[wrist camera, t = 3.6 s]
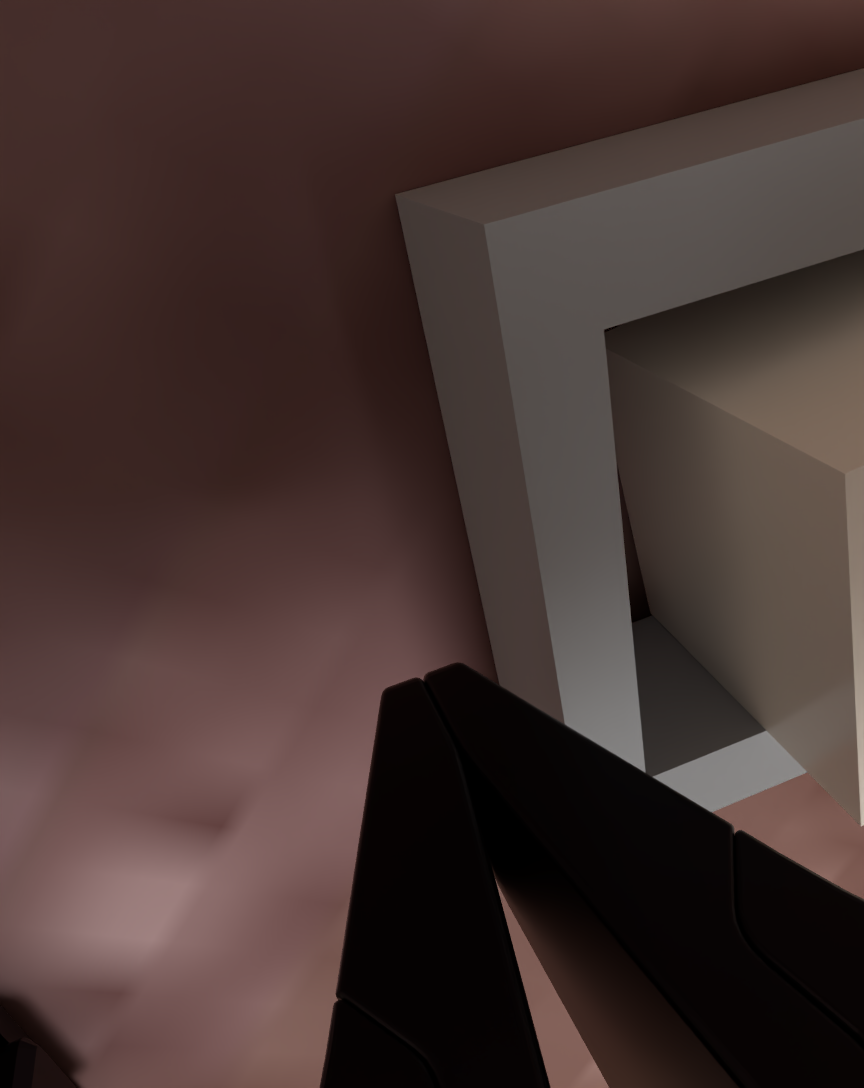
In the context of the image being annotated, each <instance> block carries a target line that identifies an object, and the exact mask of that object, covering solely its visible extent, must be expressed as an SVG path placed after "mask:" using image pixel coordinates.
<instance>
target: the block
mask: <svg viewBox="0 0 864 1088" xmlns="http://www.w3.org/2000/svg"><path fill="white" fill-rule="evenodd" d="M604 335H605V346H606V356H607V367H608V378H609V388H610V399H611V410H612V420H613V431H614V442H615V452H616V462H617V466H618V471H619V475H620V480H621V484H622V489H623V493H624V498H625V502H626V506H627V511H628V515H629V520H630V524H631V529H632V533H633V538H634V542H635V547H636V551H637V556H638V560H639V564H640V569H641V573H642V578H643V582H644V587H645V591H646V596H647V600H648V605H649V609H650V613H651V614H652V615H653V616H654V617H655V618H656V619H657V620H658V621H659V622H660V623H661V624H662V625H663V626H664V627H665V628H666V629H667V630H668V631H669V632H670V633H671V634H672V635H673V636H674V637H675V638H676V639H677V640H678V641H679V642H680V644H681V645H682V646H683V647H684V648H685V649H686V650H687V651H688V652H689V653H690V654H691V655H692V656H693V657H694V658H695V659H696V660H697V661H698V662H699V663H700V664H701V665H702V666H703V667H704V668H705V669H706V670H707V671H708V672H709V673H710V674H711V675H712V676H713V677H714V678H715V679H716V680H717V681H718V682H719V683H720V684H721V685H722V686H723V687H724V688H725V689H726V690H727V691H728V692H729V693H730V694H731V695H732V696H733V697H734V698H735V699H736V700H737V701H738V702H739V703H740V704H741V705H742V706H743V707H744V708H745V709H746V710H747V711H748V712H749V713H750V714H751V715H752V716H753V717H754V718H755V719H756V721H757V722H758V723H759V724H760V725H761V726H762V727H763V728H764V729H765V730H766V731H767V732H768V733H769V734H770V735H771V736H772V737H773V738H774V739H775V740H776V741H777V742H778V743H779V744H780V745H781V746H782V747H783V748H784V749H785V750H786V751H787V752H788V753H789V754H790V755H791V756H792V757H793V758H794V759H795V760H796V761H797V762H798V763H799V764H800V765H801V766H802V767H803V768H804V769H805V770H806V771H807V772H808V773H809V774H810V775H811V776H812V777H813V778H814V779H815V780H816V781H817V782H818V783H819V784H820V785H821V786H822V787H823V788H824V789H825V790H826V791H827V792H828V793H829V794H830V795H831V796H832V798H833V799H834V800H835V801H836V802H837V803H838V804H839V805H840V806H841V807H842V808H843V809H844V810H845V811H846V812H847V813H848V814H849V815H850V816H851V817H852V818H853V819H854V820H855V821H856V822H857V823H858V824H859V825H860V826H863V825H864V249H863V250H860V251H857V252H853V253H850V254H847V255H844V256H840V257H837V258H834V259H831V260H827V261H824V262H821V263H818V264H814V265H811V266H808V267H805V268H801V269H798V270H795V271H792V272H789V273H785V274H782V275H779V276H776V277H772V278H769V279H766V280H763V281H759V282H756V283H753V284H750V285H746V286H743V287H740V288H737V289H733V290H730V291H727V292H724V293H720V294H717V295H714V296H711V297H708V298H704V299H701V300H698V301H695V302H691V303H688V304H685V305H682V306H678V307H675V308H672V309H669V310H665V311H662V312H659V313H656V314H652V315H649V316H646V317H643V318H640V319H636V320H633V321H630V322H628V323H626V324H623V325H621V326H619V327H616V328H614V329H612V330H610V331H607V332H605V333H604Z"/></svg>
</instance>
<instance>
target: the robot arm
mask: <svg viewBox="0 0 864 1088" xmlns="http://www.w3.org/2000/svg"><path fill="white" fill-rule="evenodd" d="M495 879H496V881H497V883H498V885H499V887H500V889H501V891H502V893H503V895H504V897H505V899H506V901H507V903H508V905H509V907H510V909H511V910H512V912H513V914H514V916H515V918H516V919H517V921H518V923H519V925H520V927H521V928H522V930H523V932H524V934H525V936H526V937H527V939H528V941H529V943H530V945H531V947H532V948H533V950H534V952H535V954H536V956H537V957H538V959H539V961H540V963H541V965H542V966H543V968H544V970H545V972H546V974H547V975H548V977H549V979H550V981H551V983H552V985H553V986H554V988H555V990H556V992H557V994H558V995H559V997H560V999H561V1001H562V1003H563V1004H564V1006H565V1008H566V1010H567V1012H568V1014H569V1015H570V1017H571V1019H572V1021H573V1023H574V1024H575V1026H576V1028H577V1030H578V1032H579V1033H580V1035H581V1037H582V1039H583V1041H584V1042H585V1044H586V1046H587V1048H588V1050H589V1052H590V1053H591V1055H592V1057H593V1059H594V1061H595V1062H596V1064H597V1066H598V1068H599V1070H600V1071H601V1073H602V1075H603V1077H604V1079H605V1081H606V1082H607V1084H608V1086H609V1088H864V899H862V898H860V897H858V896H856V895H854V894H852V893H850V892H848V891H846V890H844V889H842V888H841V887H839V886H837V885H835V884H834V883H832V882H830V881H828V880H826V879H825V878H823V877H821V876H819V875H818V874H816V873H814V872H812V871H811V870H809V869H807V868H805V867H804V866H802V865H800V864H798V863H796V862H795V861H793V860H791V859H789V858H788V857H786V856H784V855H782V854H781V853H779V852H777V851H776V850H774V849H772V848H771V847H769V846H767V845H766V844H764V843H762V842H761V841H759V840H757V839H756V838H754V837H752V836H751V835H749V834H747V833H746V832H744V831H742V830H739V831H737V832H736V833H735V832H734V827H733V825H732V824H730V823H728V822H727V821H725V820H723V819H722V818H720V817H718V816H717V815H715V814H713V813H712V812H710V811H708V810H707V809H705V808H703V807H702V806H700V805H698V804H697V803H695V802H693V801H692V800H690V799H688V798H687V797H685V796H683V795H682V794H680V793H678V792H677V791H675V790H673V789H672V788H670V787H668V786H667V785H665V784H663V783H662V782H660V781H658V780H657V779H655V778H653V777H652V776H650V775H648V774H647V773H645V772H643V771H642V770H640V769H638V768H637V767H635V766H633V765H632V764H630V763H628V762H627V761H625V760H623V759H622V758H620V757H618V756H617V755H615V754H613V753H612V752H610V751H608V750H607V749H605V748H603V747H602V746H600V745H598V744H597V743H595V742H593V741H592V740H590V739H588V738H587V737H585V736H583V735H582V734H580V733H578V732H577V731H575V730H573V729H572V728H570V727H568V726H567V725H565V724H563V723H562V722H560V721H558V720H557V719H555V718H553V717H552V716H550V715H548V714H547V713H545V712H543V711H542V710H540V709H538V708H537V707H535V706H533V705H532V704H530V703H528V702H527V701H525V700H523V699H522V698H520V697H518V696H517V695H515V694H513V693H512V692H510V691H508V690H507V689H505V688H503V687H502V686H500V685H498V684H497V683H495V682H493V681H492V680H490V679H488V678H487V677H485V676H483V675H482V674H480V673H478V672H477V671H475V670H473V669H472V668H470V667H468V666H467V665H465V664H463V663H459V662H457V663H453V664H450V665H447V666H445V667H442V668H439V669H437V670H434V671H431V672H428V673H427V674H426V675H425V676H424V680H423V681H422V680H421V679H420V678H417V677H416V678H412V679H409V680H407V681H404V682H401V683H399V684H396V685H393V686H390V687H388V688H386V689H385V690H384V691H383V693H382V696H381V701H380V708H379V714H378V721H377V727H376V734H375V740H374V747H373V753H372V760H371V766H370V773H369V779H368V786H367V792H366V799H365V806H364V812H363V819H362V825H361V832H360V838H359V845H358V851H357V858H356V864H355V871H354V877H353V884H352V890H351V897H350V903H349V910H348V916H347V923H346V929H345V936H344V943H343V949H342V956H341V962H340V969H339V975H338V982H337V988H336V997H337V999H338V1001H336V1002H335V1003H334V1006H333V1011H332V1018H331V1024H330V1031H329V1037H328V1044H327V1050H326V1056H325V1061H324V1067H323V1072H322V1077H321V1083H320V1088H550V1084H549V1080H548V1076H547V1073H546V1069H545V1065H544V1061H543V1057H542V1054H541V1050H540V1046H539V1042H538V1039H537V1035H536V1031H535V1027H534V1024H533V1020H532V1016H531V1012H530V1009H529V1005H528V1001H527V997H526V993H525V990H524V986H523V982H522V978H521V975H520V971H519V967H518V963H517V960H516V956H515V952H514V948H513V944H512V941H511V937H510V933H509V929H508V926H507V922H506V918H505V914H504V911H503V907H502V903H501V899H500V896H499V892H498V888H497V884H496V881H495ZM0 1088H77V1087H76V1086H75V1085H74V1084H73V1083H72V1082H71V1081H70V1079H69V1078H68V1077H67V1076H66V1075H65V1074H64V1073H63V1071H62V1070H61V1069H60V1068H59V1067H58V1066H57V1065H56V1064H55V1062H54V1061H53V1060H52V1059H51V1058H50V1057H49V1056H48V1055H47V1053H46V1052H45V1051H44V1050H43V1049H42V1048H41V1047H40V1046H39V1045H37V1044H36V1043H34V1042H33V1041H32V1040H31V1039H30V1038H29V1037H28V1036H27V1035H26V1033H25V1032H24V1031H23V1030H22V1029H21V1028H20V1027H19V1026H18V1024H17V1023H16V1022H15V1021H14V1020H13V1019H12V1018H11V1017H10V1015H9V1014H8V1013H7V1012H6V1011H5V1010H4V1009H3V1008H2V1006H1V1005H0Z"/></svg>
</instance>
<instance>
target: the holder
mask: <svg viewBox="0 0 864 1088" xmlns="http://www.w3.org/2000/svg"><path fill="white" fill-rule="evenodd" d="M395 197H396V202H397V206H398V211H399V216H400V220H401V225H402V230H403V234H404V239H405V244H406V249H407V253H408V258H409V263H410V267H411V272H412V277H413V281H414V286H415V291H416V296H417V300H418V305H419V310H420V314H421V319H422V324H423V328H424V333H425V338H426V342H427V347H428V352H429V357H430V361H431V366H432V371H433V375H434V380H435V385H436V389H437V394H438V399H439V404H440V408H441V413H442V418H443V422H444V427H445V432H446V436H447V441H448V446H449V451H450V455H451V460H452V465H453V469H454V474H455V479H456V483H457V488H458V493H459V497H460V502H461V507H462V512H463V516H464V521H465V526H466V530H467V535H468V540H469V544H470V549H471V554H472V559H473V563H474V568H475V573H476V577H477V582H478V587H479V591H480V596H481V601H482V605H483V610H484V615H485V620H486V624H487V629H488V634H489V638H490V643H491V648H492V652H493V657H494V662H495V667H496V671H497V676H498V681H499V685H500V686H502V687H503V688H505V689H507V690H508V691H510V692H512V693H513V694H515V695H517V696H518V697H520V698H522V699H523V700H525V701H527V702H528V703H530V704H532V705H533V706H535V707H537V708H538V709H540V710H542V711H543V712H545V713H547V714H548V715H550V716H552V717H553V718H555V719H557V720H558V721H560V722H562V723H563V724H565V725H567V726H568V727H570V728H572V729H573V730H575V731H577V732H578V733H580V734H582V735H583V736H585V737H587V738H588V739H590V740H592V741H593V742H595V743H597V744H598V745H600V746H602V747H603V748H605V749H607V750H608V751H610V752H612V753H613V754H615V755H617V756H618V757H620V758H622V759H623V760H625V761H627V762H628V763H630V764H632V765H633V766H635V767H637V768H638V769H640V770H642V771H643V772H645V773H647V774H648V775H650V776H652V777H653V778H655V779H657V780H658V781H660V782H662V783H663V784H665V785H667V786H668V787H670V788H672V789H673V790H675V791H677V792H678V793H680V794H682V795H683V796H685V797H687V798H688V799H690V800H692V801H693V802H695V803H697V804H698V805H700V806H702V807H703V808H705V809H707V810H708V811H710V812H713V811H716V810H718V809H721V808H723V807H725V806H728V805H730V804H732V803H735V802H737V801H740V800H742V799H744V798H747V797H749V796H752V795H754V794H756V793H759V792H761V791H764V790H766V789H768V788H771V787H773V786H776V785H778V784H780V783H783V782H785V781H788V780H790V779H792V778H795V777H797V776H799V775H802V774H804V773H807V771H806V770H805V769H804V768H803V767H802V766H801V765H800V764H799V763H798V762H797V761H796V760H795V759H794V758H793V757H792V756H791V755H790V754H789V753H788V752H787V751H786V750H785V749H784V748H783V747H782V746H781V745H780V744H779V743H778V742H777V741H776V740H775V739H774V738H773V737H772V736H771V735H770V734H769V733H768V732H767V731H766V730H765V729H764V728H763V727H762V726H761V725H760V724H759V723H758V722H757V721H756V719H755V718H754V717H753V716H752V715H751V714H750V713H749V712H748V711H747V710H746V709H745V708H744V707H743V706H742V705H741V704H740V703H739V702H738V701H737V700H736V699H735V698H734V697H733V696H732V695H731V694H730V693H729V692H728V691H727V690H726V689H725V688H724V687H723V686H722V685H721V684H720V683H719V682H718V681H717V680H716V679H715V678H714V677H713V676H712V675H711V674H710V673H709V672H708V671H707V670H706V669H705V668H704V667H703V666H702V665H701V664H700V663H699V662H698V661H697V660H696V659H695V658H694V657H693V656H692V655H691V654H690V653H689V652H688V651H687V650H686V649H685V648H684V647H683V646H682V645H681V644H680V642H679V641H678V640H677V639H676V638H675V637H674V636H673V635H672V634H671V633H670V632H669V631H668V630H667V629H666V628H665V627H664V626H663V625H662V624H661V623H660V622H659V621H658V620H657V619H656V618H655V617H654V616H653V615H652V616H650V617H647V618H644V619H642V620H639V621H636V622H633V623H631V612H630V601H629V591H628V580H627V569H626V559H625V548H624V537H623V527H622V516H621V505H620V495H619V484H618V473H617V463H616V452H615V442H614V431H613V420H612V410H611V399H610V388H609V378H608V367H607V356H606V346H605V335H604V329H607V328H610V327H614V326H617V325H620V324H623V323H627V322H630V321H633V320H636V319H640V318H643V317H646V316H649V315H652V314H656V313H659V312H662V311H665V310H669V309H672V308H675V307H678V306H682V305H685V304H688V303H691V302H695V301H698V300H701V299H704V298H708V297H711V296H714V295H717V294H720V293H724V292H727V291H730V290H733V289H737V288H740V287H743V286H746V285H750V284H753V283H756V282H759V281H763V280H766V279H769V278H772V277H776V276H779V275H782V274H785V273H789V272H792V271H795V270H798V269H801V268H805V267H808V266H811V265H814V264H818V263H821V262H824V261H827V260H831V259H834V258H837V257H840V256H844V255H847V254H850V253H853V252H857V251H860V250H863V249H864V68H862V69H859V70H855V71H851V72H848V73H844V74H840V75H836V76H833V77H829V78H825V79H822V80H818V81H814V82H810V83H807V84H803V85H799V86H796V87H792V88H788V89H784V90H781V91H777V92H773V93H770V94H766V95H762V96H758V97H755V98H751V99H747V100H744V101H740V102H736V103H732V104H729V105H725V106H721V107H718V108H714V109H710V110H706V111H703V112H699V113H695V114H692V115H688V116H684V117H680V118H677V119H673V120H669V121H666V122H662V123H658V124H654V125H651V126H647V127H643V128H640V129H636V130H632V131H628V132H625V133H621V134H617V135H614V136H610V137H606V138H602V139H599V140H595V141H591V142H588V143H584V144H580V145H576V146H573V147H569V148H565V149H562V150H558V151H554V152H550V153H547V154H543V155H539V156H536V157H532V158H528V159H524V160H521V161H517V162H513V163H510V164H506V165H502V166H498V167H495V168H491V169H487V170H484V171H480V172H476V173H472V174H469V175H465V176H461V177H458V178H454V179H450V180H446V181H443V182H439V183H435V184H432V185H428V186H424V187H420V188H417V189H413V190H409V191H406V192H402V193H398V194H395Z"/></svg>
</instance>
